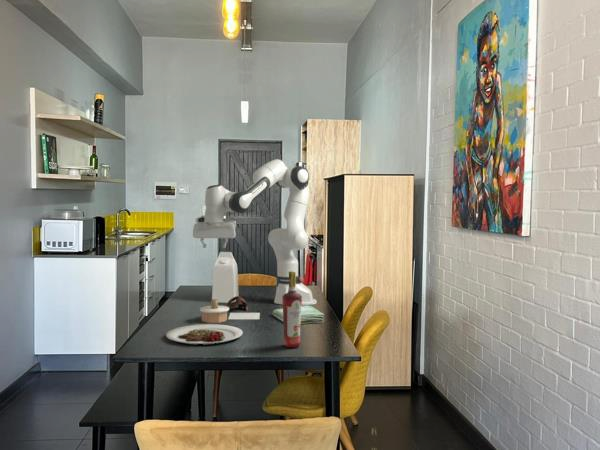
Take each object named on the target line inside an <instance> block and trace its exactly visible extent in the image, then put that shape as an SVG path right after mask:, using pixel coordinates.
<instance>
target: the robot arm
mask: <svg viewBox="0 0 600 450" xmlns="http://www.w3.org/2000/svg"><path fill="white" fill-rule="evenodd" d="M309 180H310V174H309V171H308V169H307V168H306V167H304V166H301V165H295V166H294V165H292V166H286V164H285V163H284V161H283V160H281V159H276V158H275V159H273V160H271V161H269V162H266V163H265V164H263V165H262V166H260V167H259V168H257V169H256V170H255V171H254V173H253V174H252V183H253V184H251V186H249V187H248V188H247V189H245V190H244V191H231V190H229V189H226V188H225V187H224V186H223V185H222V184H214V185H209V186H207V187H206V189H205V193H204V194H205V197H204V199H205V200H204V204H205V210H204V215H201V216H198V217H196V218H195V223H194V225H193V229H192V237H193V238H194V239H200V242H201V244H202V248H204V249H205V248H207V243H205V242H204V239H224V241H225V242H224V243H222V248H223V249H225V248H226V247H227V243H228V241H229V239H235V237H236V236H237V235H236V227H237V221H236V220H235V219H233V218H224V217H225V216H224V214H225V212H227V213H228V212H229V213H238V214H244V213H246V212H247V211H249V209H250V208H251V206H252V204H253V203H254V201H256V200H257V199H258V198H260V196H262V195H263V194H264V193H265V192H267V190H269V188H271V187H272V186H274V185H277V186H278V187H279V188H281V189H282V188H283V189H285V188H286V189H287V188H288V189H289V190H288V191H289V195H288V198H287V201H286V206H285V210H284V213H283V218H284V219H285V220H286V224H287V225H286V228H285V227H284V228H282V227H278V228H275V229H272V230H270V231H269V233H268V237H267V241H268V243H269V245H270V246H271V248H272V249H273V251H274V255H275V259H276V274H277V275H276V277H275V278H276V279H275V285H276V292H275V298H274V300H273V303H274V304H277V305H282V306H283V299H282V296H283V295H284V294H286V293H288V289H289V272H290V271H294V272H296V279H295V283H296V293H298V294H300V295H301V296H302V306H305V305H310V306H312V305H316V304H317V303H318V302H317V299H315V298H313V293H312V290H311V289H310V288H309V287H307V285H305V284H304V283H302V282H303V281H304V278H303V277H302V276H300V275H299V260H298V259H297V258H296V257H295V255H294V252H293V251H301V250H304V249H305V248H307V246H308V244H309V241H310V238H309V236H308V233H307V231H306V230H305V218H306V213H307V211H308V210H307V209H308V205H309V201H310V192H311V191H310V189H309V187H308V185H309Z"/></svg>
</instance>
